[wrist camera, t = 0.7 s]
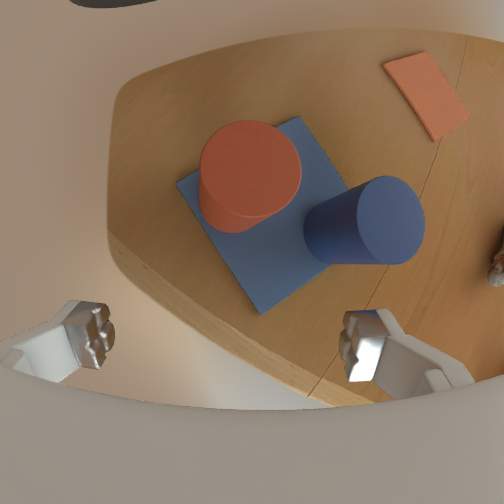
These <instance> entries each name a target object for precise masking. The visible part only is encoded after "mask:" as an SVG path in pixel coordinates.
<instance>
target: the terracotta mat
mask: <svg viewBox="0 0 504 504" xmlns="http://www.w3.org/2000/svg"><path fill="white" fill-rule="evenodd" d="M382 66H383V68H384V69H385V70H386V71H387V73H388V74H389V75H390V77H391V78H392V79H393V81H394V82H395V83H396V85H397V86H398V88H399V89H400V90H401V92H402V93H403V95H404V96H405V97H406V99H407V100H408V102H409V103H410V105H411V106H412V108H413V109H414V111H415V112H416V114H417V115H418V117H419V119H420V120H421V122H422V123H423V125H424V127H425V128H426V130H427V132H428V133H429V135H430V137H431V138H432V140H433V142H435V141H437V140H438V139H440V138H441V137H442V136H444V135H445V134H447V133H448V132H449V131H451V130H452V129H454V128H455V127H456V126H458V125H459V124H461V123H462V122H463V121H465V120H466V119H468V118H469V117H470V115H469V113H468V112H467V110H466V108H465V107H464V105H463V103H462V102H461V100H460V98H459V97H458V95H457V94H456V92H455V91H454V89H453V87H452V86H451V84H450V83H449V81H448V80H447V78H446V77H445V76H444V74H443V73H442V71H441V70H440V69H439V67H438V66H437V64H436V63H435V62H434V60H433V59H432V58H431V56H430V55H429V54H428V52H427V51H426V52H423V53H419V54H415V55H412V56H408V57H405V58H401V59H398V60H395V61H391V62H388V63H385V64H383V65H382Z"/></svg>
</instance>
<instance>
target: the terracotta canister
mask: <svg viewBox="0 0 504 504" xmlns="http://www.w3.org/2000/svg"><path fill="white" fill-rule="evenodd" d="M301 174H302V173H301V162H300V158H299V155H298V153H297V150H296V148H295V147H294V145H293V144H292V142H291V141H290V140H289V139H288V138H287V137H286V136H285V135H284V134H283V133H282V132H281V131H279V130H278V129H276V128H275V127H273V126H271V125H268V124H266V123H262V122H258V121H239V122H234V123H231V124H229V125H226V126H224V127H222V128H221V129H219V130H218V131H217V132H215V133H214V134H213V135H212V136H211V137H210V139H209V140H208V141H207V143H206V145H205V146H204V148H203V151H202V154H201V158H200V171H199V207H200V211H201V213H202V215H203V217H204V218H205V220H206V221H207V222H208V223H209V224H210V225H211V226H212V227H214V228H215V229H217V230H219V231H222V232H226V233H240V232H243V231H246V230H248V229H250V228H252V227H253V226H255V225H257V224H258V223H260V222H262V221H263V220H265V219H267V218H268V217H270V216H271V215H273V214H275V213H276V212H278V211H280V210H281V209H283V208H284V207H285V206H286V205H287V204H288V203H289V202H290V201H291V200H292V199H293V198H294V196H295V194H296V192H297V190H298V188H299V185H300V181H301Z"/></svg>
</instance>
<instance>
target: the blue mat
mask: <svg viewBox="0 0 504 504" xmlns="http://www.w3.org/2000/svg"><path fill="white" fill-rule="evenodd" d="M275 128H276V129H278V130H279V131H281V132H282V133H283V134H284V135H285V136H286V137H287V138H288V139H289V140H290V141H291V142H292V144H293V145H294V147H295V148H296V150H297V153H298V155H299V158H300V162H301V173H302V174H301V181H300V185H299V188H298V190H297V192H296V194H295V196H294V198H293V199H292V200H291V201H290V202H289V203H288V204H287V205H286V206H285V207H284V208H283V209H281V210H280V211H278V212H276V213H275V214H273V215H271V216H270V217H268V218H267V219H265V220H263V221H262V222H260V223H258V224H257V225H255V226H253V227H252V228H250V229H248V230H246V231H243V232H240V233H226V232H222V231H219V230H217V229H215V228H214V227H212V226H211V225H210V224H209V223H208V222H207V221H206V220H205V218H204V217H203V215H202V213H201V211H200V207H199V171H200V169H198V170H197V171H195V172H193V173H192V174H190V175H188V176H187V177H185V178H183V179H182V180H180V181H179V182H177V183H176V186H177V187H178V189H179V190H180V192H181V194H182V195H183V197H184V198H185V200H186V202H187V203H188V205H189V206H190V208H191V209H192V211H193V213H194V214H195V216H196V217H197V219H198V220H199V222H200V224H201V225H202V227H203V228H204V230H205V231H206V233H207V235H208V236H209V238H210V239H211V241H212V242H213V244H214V245H215V247H216V248H217V250H218V252H219V253H220V255H221V256H222V258H223V259H224V261H225V262H226V264H227V265H228V267H229V268H230V270H231V271H232V273H233V275H234V276H235V278H236V279H237V281H238V282H239V284H240V285H241V287H242V288H243V290H244V291H245V293H246V294H247V296H248V297H249V299H250V300H251V302H252V303H253V305H254V306H255V308H256V309H257V311H258V312H259V314H260V315H262V314H263V313H265V312H266V311H268V310H269V309H271V308H272V307H273V306H275V305H276V304H278V303H279V302H281V301H282V300H283V299H285V298H286V297H288V296H289V295H290V294H292V293H293V292H295V291H296V290H297V289H299V288H300V287H302V286H303V285H304V284H306V283H307V282H308V281H310V280H311V279H313V278H314V277H315V276H317V275H318V274H319V273H321V272H322V271H323V270H325V269H326V268H327V267H329V266H330V265H332V264H330V263H326V262H323V261H321V260H319V259H317V258H316V257H315V256H314V255H313V254H312V253H311V252H310V250H309V249H308V247H307V245H306V242H305V239H304V223H305V220H306V217H307V215H308V213H309V212H310V211H311V209H312V208H313V207H315V206H316V205H318V204H319V203H322V202H324V201H326V200H328V199H330V198H332V197H335V196H337V195H339V194H341V193H343V192H346V191H348V188H347V187H346V185H345V183H344V182H343V180H342V179H341V177H340V175H339V174H338V172H337V171H336V169H335V168H334V166H333V164H332V163H331V161H330V160H329V158H328V157H327V155H326V154H325V152H324V151H323V149H322V148H321V146H320V145H319V143H318V142H317V140H316V139H315V137H314V136H313V135H312V133H311V132H310V130H309V129H308V127H307V126H306V125H305V123H304V122H303V120H302V119H301V118H300V116H298V117H295V118H293V119H291V120H289V121H287V122H285V123H283V124H281V125H279V126H277V127H275Z"/></svg>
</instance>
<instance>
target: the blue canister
mask: <svg viewBox="0 0 504 504" xmlns="http://www.w3.org/2000/svg"><path fill="white" fill-rule="evenodd" d="M424 232H425V217H424V212H423V208H422V205H421V203H420V200H419V198H418V197H417V195H416V193H415V192H414V191H413V189H412V188H411V187H410V186H409V185H408V184H406V183H405V182H404V181H402V180H400V179H398V178H396V177H392V176H380V177H377V178H374V179H372V180H370V181H368V182H365V183H363V184H361V185H359V186H357V187H354V188H352V189H350V190H348V191H346V192H343V193H341V194H339V195H337V196H335V197H332V198H330V199H328V200H326V201H324V202H322V203H319V204H318V205H316V206H315V207H313V208H312V209H311V211H310V212H309V213H308V215H307V217H306V220H305V223H304V239H305V242H306V245H307V247H308V249H309V250H310V252H311V253H312V254H313V255H314V256H315V257H316V258H317V259H319V260H321V261H323V262H326V263H330V264H390V265H394V264H401V263H404V262H406V261H408V260H409V259H411V258H412V257H413V256H414V255H415V254H416V253H417V251H418V250H419V248H420V246H421V244H422V241H423V237H424Z"/></svg>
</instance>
